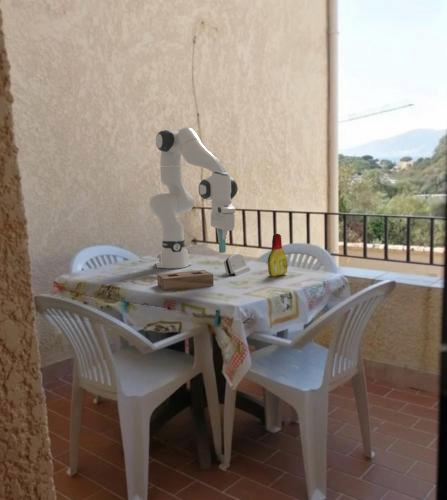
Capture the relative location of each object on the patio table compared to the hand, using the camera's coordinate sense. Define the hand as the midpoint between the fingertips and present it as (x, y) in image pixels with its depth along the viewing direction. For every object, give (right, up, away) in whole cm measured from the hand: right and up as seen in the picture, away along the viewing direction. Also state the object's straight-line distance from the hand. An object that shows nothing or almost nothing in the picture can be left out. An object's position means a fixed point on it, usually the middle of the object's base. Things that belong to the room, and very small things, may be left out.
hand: (222, 238), depth 231 cm
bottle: (+26, -17, +14) cm, 34 cm away
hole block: (-16, -21, -4) cm, 27 cm away
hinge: (+7, -17, +24) cm, 30 cm away
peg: (0, -6, +1) cm, 6 cm away
